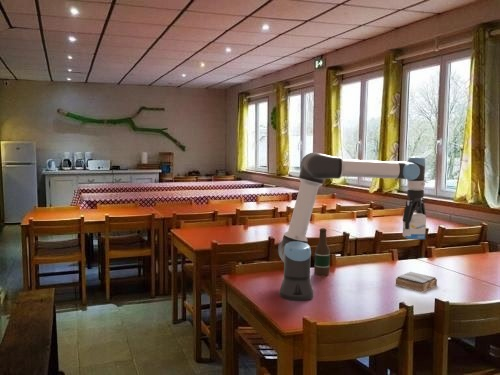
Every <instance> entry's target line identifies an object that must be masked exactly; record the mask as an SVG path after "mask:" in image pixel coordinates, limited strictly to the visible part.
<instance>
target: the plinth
mask: <svg viewBox="0 0 500 375" xmlns="http://www.w3.org/2000/svg"><path fill="white" fill-rule="evenodd" d="M437 284H438V279H437V278H436V277H434V276H431V275H426V274H421V273H418V272H413V271H409V272H406V273H404V274H401V275H398V276H397V277H395V286H399V287H404V288H407V289H412V290H414V291H415V290H416V291H420V292H422V291H423V292H425V291H428V290H429V289H432V288H434V287H436V286H437Z"/></svg>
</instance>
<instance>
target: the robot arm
mask: <svg viewBox="0 0 500 375" xmlns="http://www.w3.org/2000/svg"><path fill="white" fill-rule="evenodd" d="M425 171H426V159H425V157H422V156H409V157H408V159H407V160H405V161H404V160H399V161H398V160H397V161H396V160H390V161H388V160H385V161H382V160H366V159H365V160H364V159H361V160H360V159H343V158H342V156H334V155H333V156H332V155H328V154H324V153H320V152H310V153H308V154H306V155H305V156H303V157H302V159H301V160H300V172H299V176H298V180H299V181H300V185H299V188H298V193H297V195H296V196H297V197H296V201H295V204H294V207H293V212H292V214H291V215H292V216H291V218H290V223H289V226H288V230H287V231H286V232H284V233H283V236H282V240H281V241H280V242H279V244H278V246H277V247H278V249H277V254H278V256H279V258H280V259H281V261H282V262H283V280H282V283H281V285H280V289H279V296H280V297H281V298H282V299H285V300H287V301H295V302H303V301H308V300H309V301H310V300H311V299H313V298H314V293H315V292H314V289H313V285H312V281H311V258H312V257H311V256H312V249H311V246H310V245H309V244H308V241H309V240H308V238H307V231H308V228H309V226H310V225H309V224H310V221H311V218H312V214H313V210H314V206H315V203H316V198H317V195H318V191H319V188H320V187H321V186H322V185H324V181H325V180H327V179H328V180H330V179H338V180H340V179H341V178H342V177H343V178H344V177H345V178H349V177H350V178H371V179H372V178H374V179H395V180H396V179H397V180H407V191H406V193H407V194H406V196H407V198H409V200H406V201H405V208H404V211H403V213H404V216H402V223H403V222H405V236H411V222H410V221H411V218H412V216H413V213H422V214H424V215H426V216H427V214H426V206H425V199H424V197H425V196H424V195H425V190H424V189H425V175H426V173H425Z"/></svg>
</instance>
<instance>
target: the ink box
mask: <svg viewBox="0 0 500 375" xmlns="http://www.w3.org/2000/svg"><path fill="white" fill-rule="evenodd" d="M403 216H404V212H403ZM403 216H402V217H403ZM410 222H411V236H405V222H403V221H402V236H403V238H406V239H407V240H426V230H427V228H426V227H427V214H426V215H424V214H422V213H417V212H414V213H413V216H412V218H411V221H410Z"/></svg>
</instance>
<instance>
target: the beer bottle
mask: <svg viewBox="0 0 500 375" xmlns="http://www.w3.org/2000/svg"><path fill="white" fill-rule="evenodd" d="M318 231H319V236H318V237H319V239H318V244H317V245H316V247H315V250H314V268H313V269H314V270H313V271H314V275H316V276H320V277H326V276H329V275H330V265H331V263H330V262H331V261H330V260H331V252H330V247H329V245H328V244H327V232H328V230H327V228H319V230H318Z"/></svg>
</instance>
